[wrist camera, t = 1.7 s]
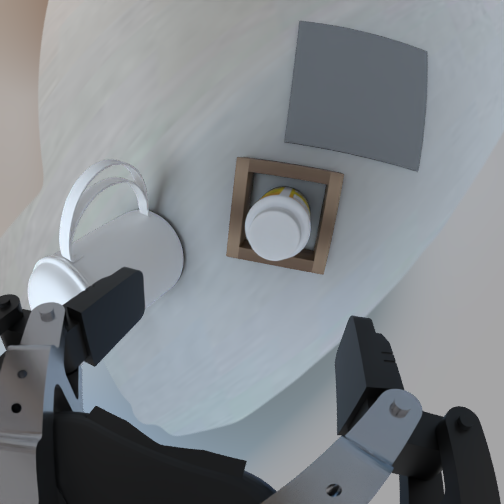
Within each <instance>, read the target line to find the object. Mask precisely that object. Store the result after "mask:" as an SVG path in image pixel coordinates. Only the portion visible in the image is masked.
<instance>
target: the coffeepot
mask: <svg viewBox="0 0 504 504" xmlns="http://www.w3.org/2000/svg"><path fill="white" fill-rule="evenodd" d="M119 164H122V165H124V166H125V167H126V168H127V169H128V170H129V171H130V173H131V174H132V176H133V178H134V181H135V182H133V181H130V180H127V179H124V178H121V177H111V178H107V179H104V180H101V181H99V182H97V183H95V184H94V185H92V186H91V187H90V188H88V189H87V190H86V191H85V189H86V188H87V186H88V185H89V183H90V182H91V181H92V180H93V179H94V178H95V176H96V175H98V174H99V173H100V172H101V171H103V170H104V169H106V168H108V167H110V166H112V165H119ZM122 182H127V183H128V184H129V185H130V186H131V187H132V189H133V190H134V192H135V194H136V196H137V199H138V207H139V210H133V211H129V212H127V213H125V214H123V215H121V216H119V217H117V218H115V219H113V220H112V221H110V222H108V223H106V224H104V225H102V226H101V227H99V228H97V229H95V230H94V231H92V232H90V233H88V234H87V235H85V236H83V237H81V238H80V239H78V240H76V241H75V242H73V243H72V241H73V237H74V233H75V230H76V227H77V225H78V223H79V220H80V218H81V217H82V215H83V213H84V211H85V210H86V208H87V207H88V205H89V204H90V203H91V201H92V200H93V199H94V198H95V197H96V196H97V195H98V194H99V193H101V192H102V191H103V190H105V189H106V188H108V187H110V186H112V185H115V184H117V183H122ZM84 191H85V192H84ZM83 192H84V193H83ZM59 242H60V251H58V252H57V253H55V254H53V255H49V256H46V257H44V258H42V259H40V260H39V261H38V262H37V263H36V265H35V267H34V270H33V273H32V275H31V276H30V279H29V282H28V299H29V304H30V307H31V310H33V309H34V308H35V307H37V306H38V305H40V304H43V303H48V302H55V303H59V304H61V305H63V304H65V303H66V302H68V301H69V300H70V299H72V298H73V297H75V296H76V295H78V294H79V293H80V292H82V291H83V290H84V291H85V289H86V288H88V287H89V286H92V284H94V283H95V282H97V281H98V280H100V279H102V278H105V277H108V276H110V275H112V274H113V273H115V272H116V271H118V270H119V269H121V268H122V267H128V268H132V269H136V270H140V271H141V272H142V273H143V278H144V296H145V309H146V308H147V307H148V306H150V305H151V304H152V303H153V302H155V301H156V300H157V299H158V298H160V297H161V296H162V295H163V294H165V293H166V292H167V291H168V290H170V289H171V288H172V287H173V286H174V285H175V284H176V283H177V281H178V280H179V278H180V275H181V273H182V269H183V250H182V246H181V243H180V240H179V238H178V236H177V234H176V232H175V231H174V229H173V228H172V227H171V225H170V224H169V223H168V222H167V221H166V220H164V219H163V218H162V217H160V216H159V215H157V214H155V213H153V212H151V211H149V207H148V194H147V189H146V185H145V182H144V180H143V178H142V175H141V174H140V172H139V171H138V170H137V169H136V168H135V167H134V166H132V165H130V164H128V163H125V162H122V161H118V160H114V159H107V160H102V161H100V162H97V163H95V164H93V165H92V166H91V167H89V168H88V169H87V170H86V171H85V172H84V173H83V174H82V175H81V176H80V177H79V178H78V180H77V181H76V182H75V184H74V185H73V187H72V189H71V191H70V193H69V195H68V197H67V200H66V202H65V205H64V208H63V213H62V217H61V224H60V234H59ZM84 362H85V361H83V362H82V363H81V364H80V365H81V366H82V365H83V364H84Z"/></svg>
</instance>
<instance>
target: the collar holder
mask: <svg viewBox="0 0 504 504" xmlns="http://www.w3.org/2000/svg"><path fill="white" fill-rule="evenodd" d="M254 172H255V173H262V174H269V175H275V176H282V177H288V178H294V179H300V180H306V181H311V182H317V183H322V184H326V189H325V195H324V200H323V206H322V211H321V217H320V222H319V227H318V232H317V237H316V242H315V247H314V251H311V250H306V249H302V250H301V251H300V252H299V253H298V254H296V255H295V256H293V257H290V258H287V259H283V260H279V261H271V260H267V259H264V258H262V257H260V256H259V255H258V254H257V253H256V252H255V251H254V250H253V249H252V247H251V245H250V243H249V241H248V239H246V233H245V221H246V217H247V214H248V212H249V208H250V200H251V192H252V184H253V176H254ZM343 177H344V174H342V173H339V172H334V171H329V170H324V169H319V168H313V167H308V166H302V165H296V164H290V163H283V162H277V161H270V160H263V159H255V158H247V157H237V161H236V170H235V178H234V187H233V196H232V205H231V214H230V224H229V233H228V243H227V254H226V256H228V257H233V258H238V259H243V260H248V261H254V262H259V263H264V264H269V265H275V266H280V267H285V268H290V269H296V270H301V271H306V272H312V273H317V274H324V270H325V266H326V262H327V257H328V253H329V248H330V244H331V239H332V235H333V230H334V225H335V220H336V215H337V210H338V205H339V200H340V194H341V189H342V183H343Z"/></svg>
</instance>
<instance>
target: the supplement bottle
mask: <svg viewBox="0 0 504 504" xmlns="http://www.w3.org/2000/svg"><path fill="white" fill-rule="evenodd" d="M310 232H311V221H310V207H309V204H308V201H307V199H306V198H305V196H304V195H303V194H302V193H301V192H299V191H298V190H296V189H294V188H291V187H286V186H281V187H276V188H274V189H272V190H270V191H268V192H267V193H266V194H265V195H264V196H263V197H262V198H261V199H260V200H258V201H257V202H256V203H255V204H254V205H253V206H252V208H251V209H250V210H249V212H248V214H247V217H246V221H245V233H246V237H247V239H248V241H249V243H250V245H251V247H252V249H253V250H254V251H255V252H256V253H257V254H258V255H259V256H260V257H262V258H264V259H267V260H271V261H279V260H283V259H287V258H290V257H293V256H295V255H296V254H298V253H299V252H300V251H301V250H302V249H303V248H304V247H305V245H306V244H307V242H308V240H309V237H310Z"/></svg>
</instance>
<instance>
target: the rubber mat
mask: <svg viewBox="0 0 504 504" xmlns="http://www.w3.org/2000/svg"><path fill="white" fill-rule="evenodd" d="M427 68H428V62H427V51H424V50H422V49H419V48H416V47H413V46H411V45H408V44H405V43H402V42H399V41H395V40H392V39H389V38H385V37H382V36H378V35H374V34H371V33H367V32H362V31H358V30H354V29H349V28H344V27H339V26H333V25H327V24H321V23H314V22H306V21H299V30H298V38H297V47H296V55H295V64H294V72H293V80H292V88H291V96H290V104H289V111H288V119H287V126H286V134H285V141H284V142H288V143H294V144H301V145H307V146H313V147H318V148H324V149H329V150H334V151H339V152H344V153H348V154H353V155H357V156H362V157H366V158H370V159H374V160H378V161H382V162H386V163H390V164H394V165H397V166H401V167H404V168H408V169H411V170H415V171H418V170H419V164H420V157H421V150H422V143H423V134H424V125H425V114H426V99H427Z"/></svg>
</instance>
